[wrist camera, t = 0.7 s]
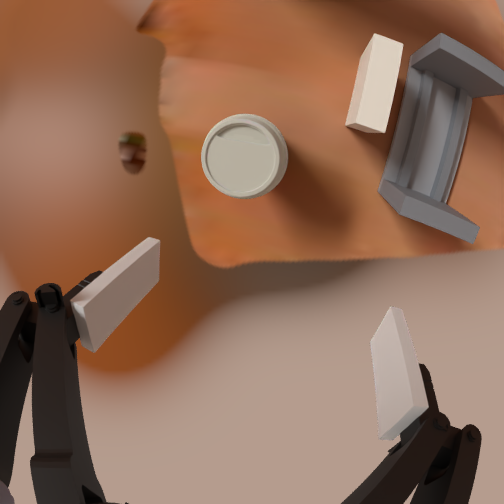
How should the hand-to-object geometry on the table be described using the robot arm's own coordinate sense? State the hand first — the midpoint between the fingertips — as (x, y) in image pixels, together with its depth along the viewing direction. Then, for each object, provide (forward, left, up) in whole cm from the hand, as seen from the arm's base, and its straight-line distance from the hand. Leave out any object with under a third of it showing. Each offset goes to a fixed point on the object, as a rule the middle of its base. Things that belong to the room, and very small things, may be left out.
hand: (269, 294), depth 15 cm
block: (-16, +5, -25) cm, 30 cm away
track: (-14, +15, -25) cm, 32 cm away
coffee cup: (-5, -6, -25) cm, 26 cm away
